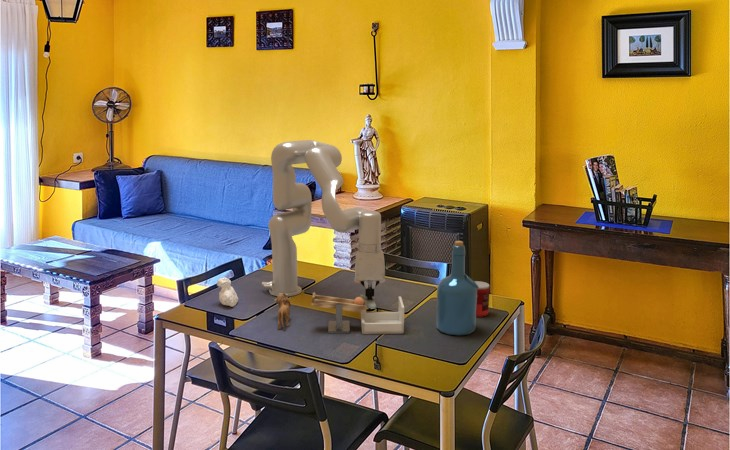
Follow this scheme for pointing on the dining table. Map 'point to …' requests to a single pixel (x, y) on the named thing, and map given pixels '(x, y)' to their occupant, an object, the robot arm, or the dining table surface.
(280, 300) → the lion figurine
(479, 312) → the canned food
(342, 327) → the fulcrum
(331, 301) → the lever
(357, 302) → the ball
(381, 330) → the bin
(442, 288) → the wine bottle
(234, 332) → the dining table surface
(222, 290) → the duck figurine
